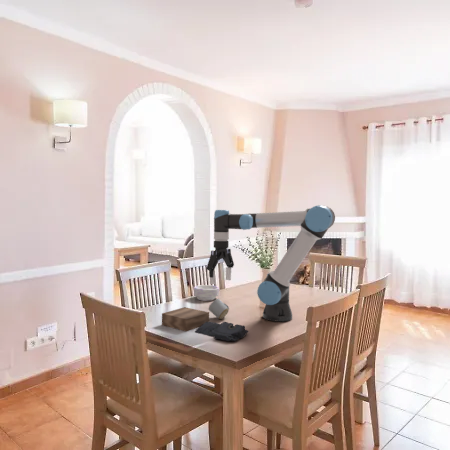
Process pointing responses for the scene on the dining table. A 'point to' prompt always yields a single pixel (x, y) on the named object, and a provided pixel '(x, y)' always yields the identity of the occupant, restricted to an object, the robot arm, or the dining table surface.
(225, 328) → the black flat crumpled piece
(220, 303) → the ceramic mug
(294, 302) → the dining table surface
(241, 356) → the dining table surface
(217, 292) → the paper bowls
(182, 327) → the walnut riser block
